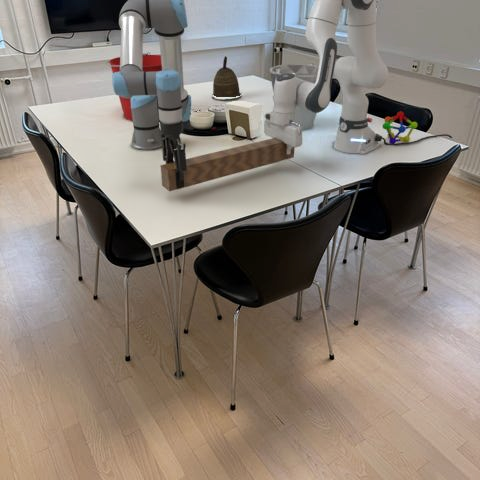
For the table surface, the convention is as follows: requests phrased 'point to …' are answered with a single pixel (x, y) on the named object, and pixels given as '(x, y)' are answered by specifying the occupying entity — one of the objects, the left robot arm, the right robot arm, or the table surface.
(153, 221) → the table surface
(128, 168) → the table surface
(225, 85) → the bell
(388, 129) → the educational toy
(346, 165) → the table surface
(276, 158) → the beam
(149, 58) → the bucket
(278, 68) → the bucket
